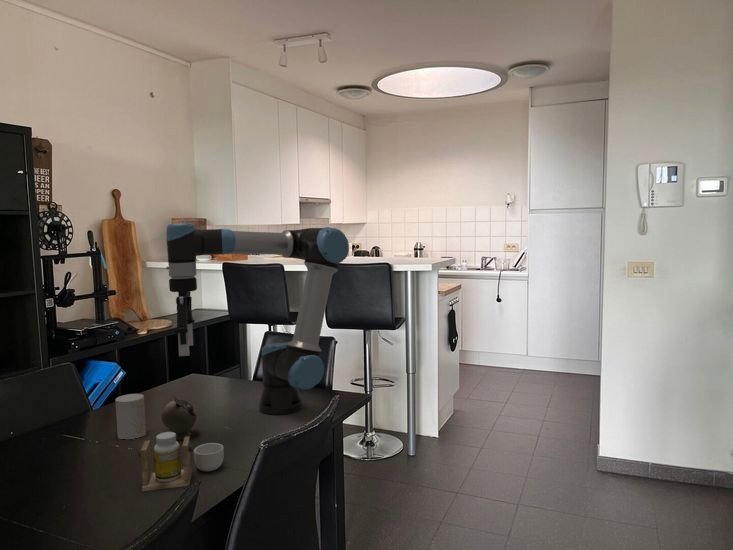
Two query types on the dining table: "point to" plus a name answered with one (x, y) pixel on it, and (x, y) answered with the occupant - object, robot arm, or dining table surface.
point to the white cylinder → (130, 416)
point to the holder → (150, 477)
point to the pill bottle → (167, 457)
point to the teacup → (209, 456)
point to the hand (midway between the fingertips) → (186, 350)
